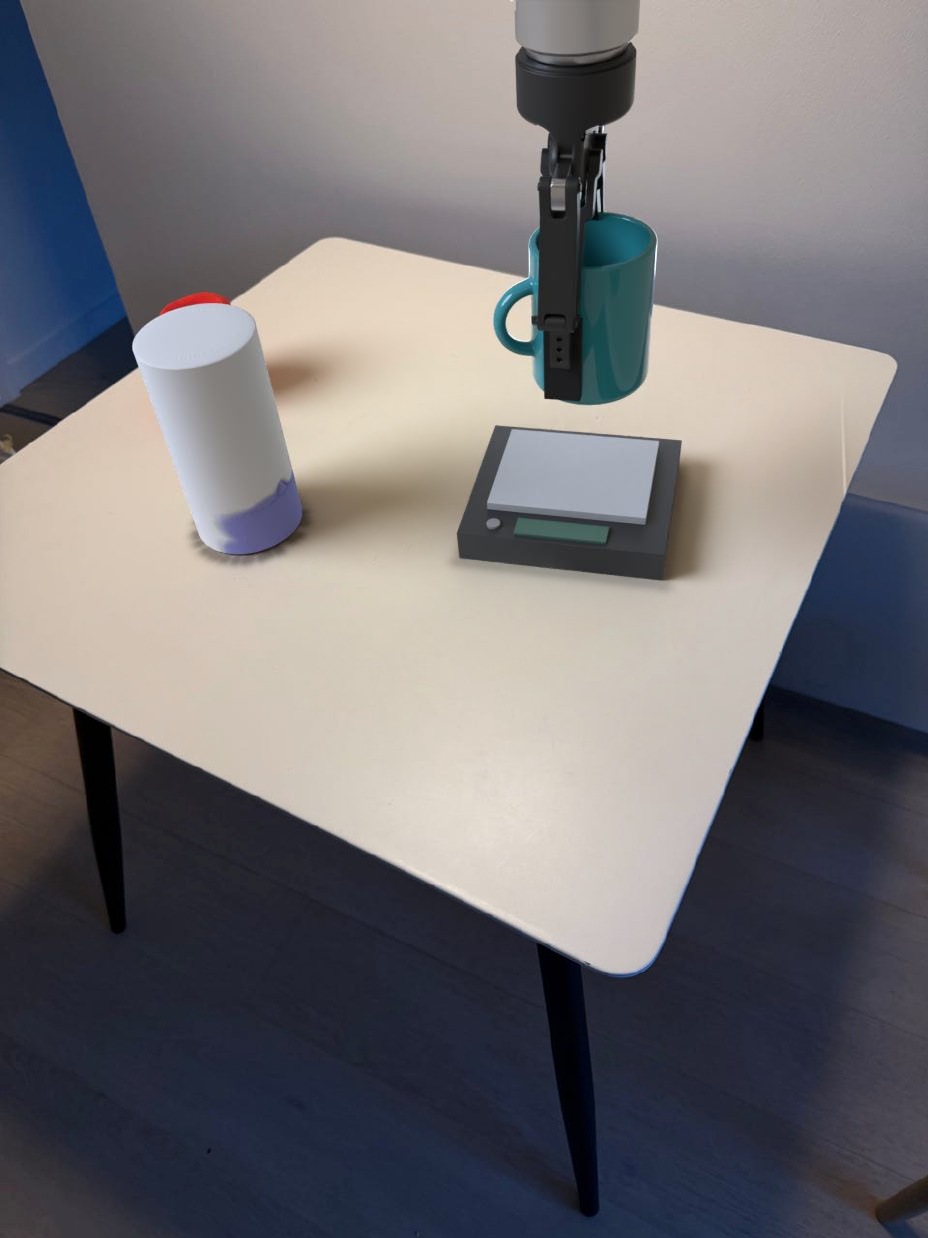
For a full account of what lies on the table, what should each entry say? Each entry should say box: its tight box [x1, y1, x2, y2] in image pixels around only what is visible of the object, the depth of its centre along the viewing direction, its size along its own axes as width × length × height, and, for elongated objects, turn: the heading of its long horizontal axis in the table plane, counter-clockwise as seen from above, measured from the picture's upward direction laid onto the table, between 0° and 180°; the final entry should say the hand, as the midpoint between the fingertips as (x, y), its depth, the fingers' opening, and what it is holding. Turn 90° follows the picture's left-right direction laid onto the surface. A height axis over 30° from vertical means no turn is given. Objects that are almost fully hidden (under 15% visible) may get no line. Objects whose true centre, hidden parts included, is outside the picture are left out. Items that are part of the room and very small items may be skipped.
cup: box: [492, 211, 658, 406], centre depth 74 cm, size 9×12×11 cm
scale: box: [456, 424, 683, 581], centre depth 91 cm, size 18×16×4 cm
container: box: [131, 303, 303, 555], centre depth 87 cm, size 10×10×20 cm
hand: (573, 361), depth 77 cm, fingers closed on cup, 9 cm apart
